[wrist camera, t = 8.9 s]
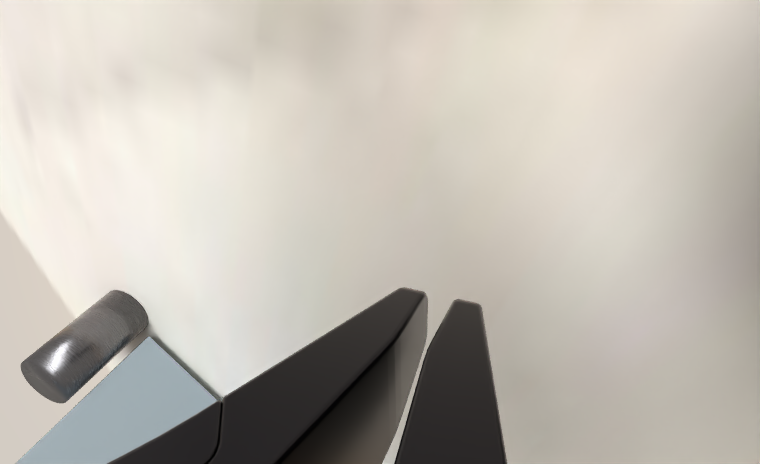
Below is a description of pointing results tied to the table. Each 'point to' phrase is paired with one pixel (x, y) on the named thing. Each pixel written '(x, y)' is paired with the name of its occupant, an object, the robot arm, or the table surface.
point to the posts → (84, 346)
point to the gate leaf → (123, 410)
